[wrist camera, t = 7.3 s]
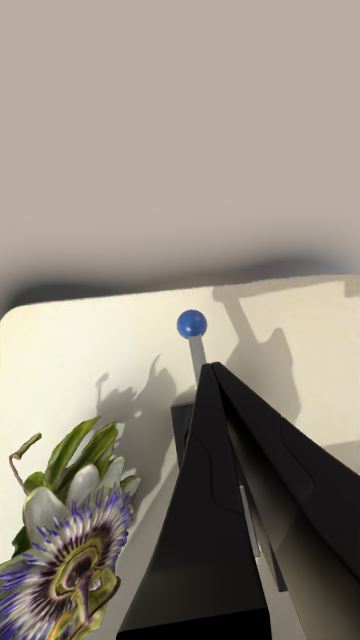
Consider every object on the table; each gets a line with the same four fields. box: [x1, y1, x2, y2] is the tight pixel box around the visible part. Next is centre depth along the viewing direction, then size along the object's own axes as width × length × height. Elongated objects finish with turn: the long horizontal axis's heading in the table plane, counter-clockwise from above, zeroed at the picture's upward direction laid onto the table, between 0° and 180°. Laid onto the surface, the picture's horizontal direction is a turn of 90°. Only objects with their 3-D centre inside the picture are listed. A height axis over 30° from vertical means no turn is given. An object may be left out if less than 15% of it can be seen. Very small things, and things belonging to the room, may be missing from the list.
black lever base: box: [171, 401, 288, 592], centre depth 13 cm, size 10×7×10 cm
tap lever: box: [177, 310, 260, 557], centre depth 13 cm, size 15×3×3 cm, turn 9°
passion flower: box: [0, 416, 140, 640], centre depth 14 cm, size 11×11×12 cm
